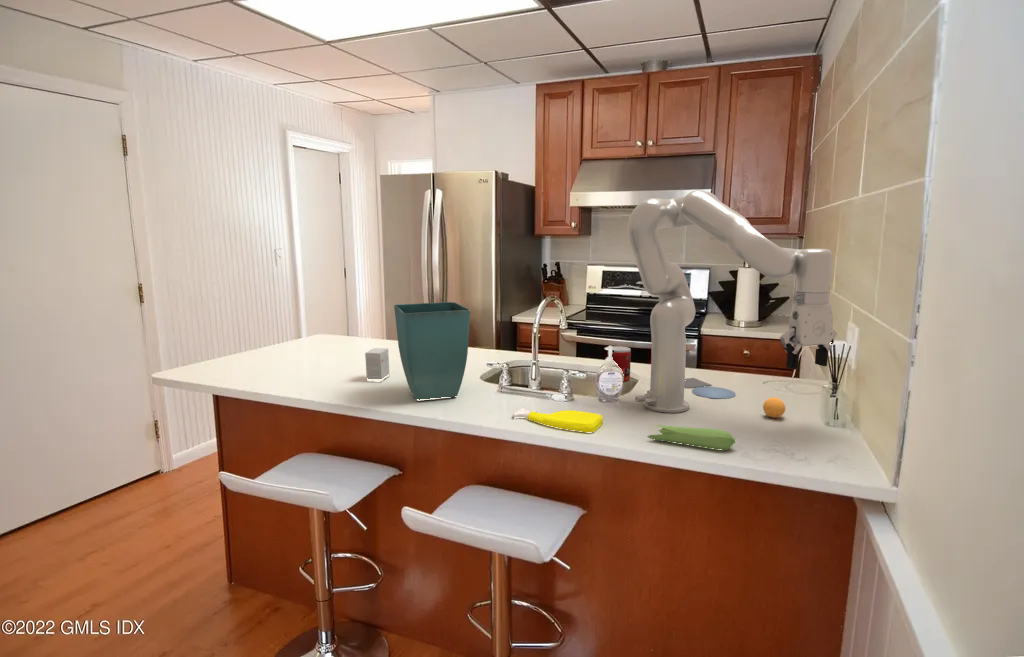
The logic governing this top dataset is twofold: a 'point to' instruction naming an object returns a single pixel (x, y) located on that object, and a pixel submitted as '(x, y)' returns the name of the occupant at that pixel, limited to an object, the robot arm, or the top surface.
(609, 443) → the top surface
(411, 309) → the flower pot
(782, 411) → the ball
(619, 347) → the canned food
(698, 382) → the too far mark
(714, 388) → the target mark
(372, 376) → the small box
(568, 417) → the spray bottle
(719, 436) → the edible corn
